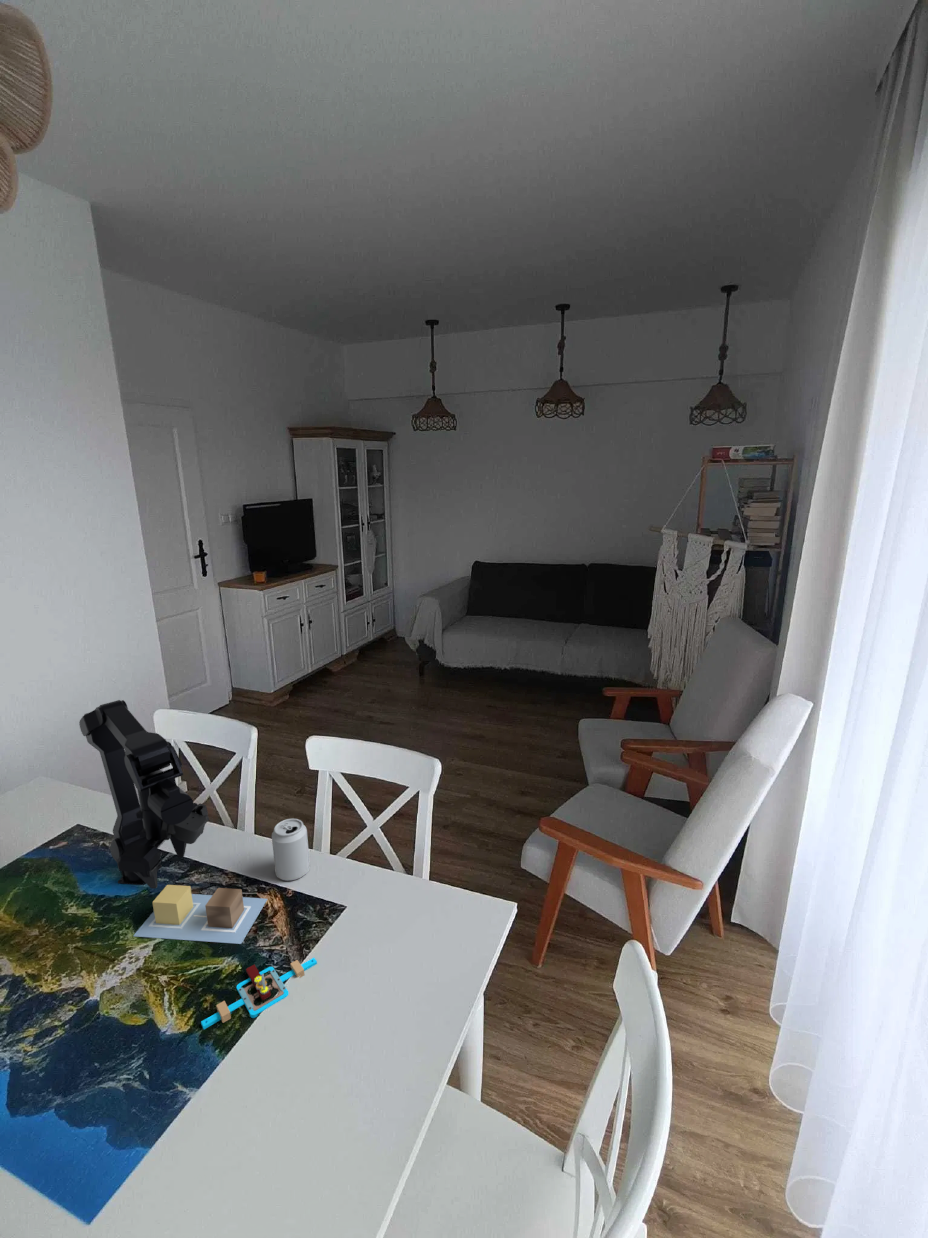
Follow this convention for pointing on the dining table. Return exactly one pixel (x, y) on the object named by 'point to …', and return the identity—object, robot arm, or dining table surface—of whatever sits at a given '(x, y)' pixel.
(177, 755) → the robot arm
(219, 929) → the blueprint sheet
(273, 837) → the can
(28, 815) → the dining table surface
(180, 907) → the ochre block
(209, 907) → the walnut cube
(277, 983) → the gear mechanism
